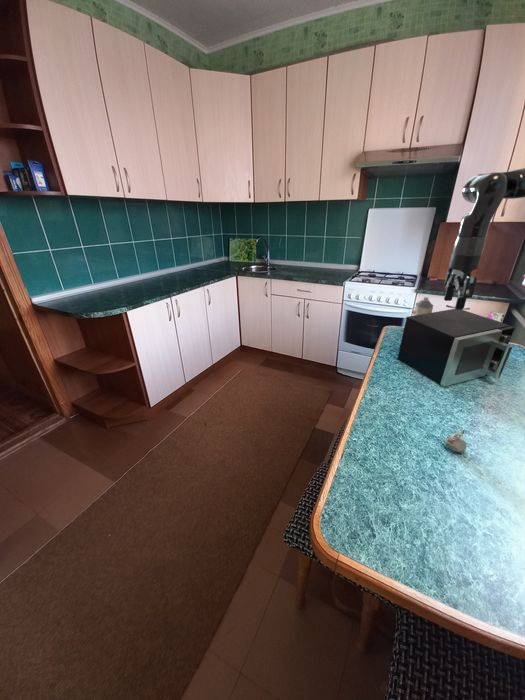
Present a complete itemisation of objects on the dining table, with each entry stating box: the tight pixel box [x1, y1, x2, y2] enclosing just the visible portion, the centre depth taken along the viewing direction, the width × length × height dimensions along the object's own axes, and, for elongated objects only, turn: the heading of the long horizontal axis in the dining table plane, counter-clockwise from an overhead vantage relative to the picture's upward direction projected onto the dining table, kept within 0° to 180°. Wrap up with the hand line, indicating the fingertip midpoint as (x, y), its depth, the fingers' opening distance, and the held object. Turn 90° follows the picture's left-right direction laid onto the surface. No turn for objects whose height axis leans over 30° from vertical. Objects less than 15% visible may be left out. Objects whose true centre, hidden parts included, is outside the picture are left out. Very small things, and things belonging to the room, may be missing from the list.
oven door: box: [439, 329, 514, 387], centre depth 96 cm, size 8×20×18 cm, turn 110°
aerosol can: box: [412, 296, 434, 316], centre depth 128 cm, size 7×7×20 cm
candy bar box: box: [486, 311, 506, 323], centre depth 116 cm, size 11×5×16 cm, turn 137°
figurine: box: [444, 429, 468, 454], centre depth 73 cm, size 5×4×6 cm
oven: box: [397, 308, 516, 385], centre depth 107 cm, size 22×26×18 cm
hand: (452, 304), depth 93 cm, fingers open, 8 cm apart
